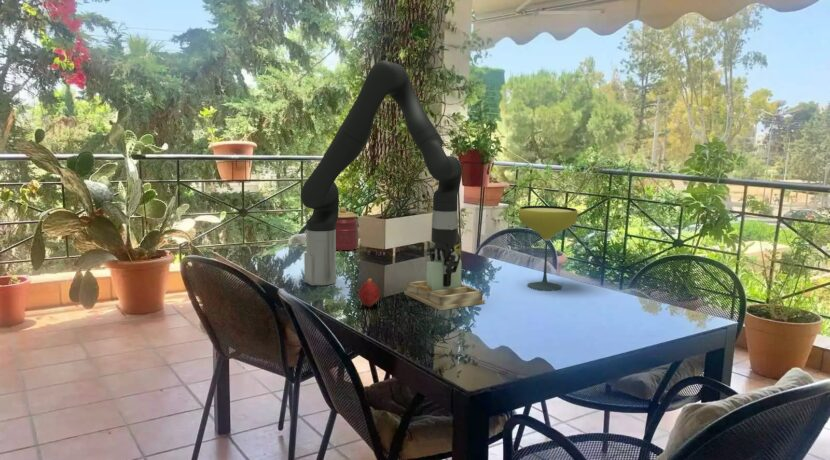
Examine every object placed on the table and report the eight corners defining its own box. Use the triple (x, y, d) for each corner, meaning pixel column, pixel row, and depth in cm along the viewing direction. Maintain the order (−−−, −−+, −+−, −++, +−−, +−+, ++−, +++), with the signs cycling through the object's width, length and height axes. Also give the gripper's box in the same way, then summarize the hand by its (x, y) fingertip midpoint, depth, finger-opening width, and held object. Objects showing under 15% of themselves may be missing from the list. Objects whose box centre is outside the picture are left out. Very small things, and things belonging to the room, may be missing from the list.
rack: (439, 310, 167) (440, 294, 167) (404, 294, 184) (404, 280, 184) (484, 303, 175) (485, 288, 174) (446, 288, 192) (446, 275, 191)
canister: (323, 250, 254) (323, 208, 251) (332, 245, 267) (332, 204, 264) (354, 252, 252) (354, 209, 249) (362, 246, 265) (362, 205, 262)
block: (431, 294, 176) (432, 263, 174) (426, 292, 178) (426, 261, 177) (460, 290, 181) (461, 260, 179) (455, 288, 183) (455, 258, 182)
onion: (363, 310, 166) (363, 281, 165) (355, 305, 171) (355, 277, 170) (383, 308, 169) (383, 279, 168) (374, 303, 174) (374, 275, 173)
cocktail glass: (584, 286, 197) (588, 209, 193) (554, 296, 184) (558, 213, 180) (535, 277, 209) (538, 204, 205) (504, 286, 196) (507, 208, 192)
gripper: (421, 223, 181) (420, 281, 183) (447, 230, 169) (445, 291, 171) (442, 222, 184) (441, 278, 187) (469, 228, 172) (468, 288, 175)
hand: (443, 284), depth 179 cm, fingers closed on block, 3 cm apart
